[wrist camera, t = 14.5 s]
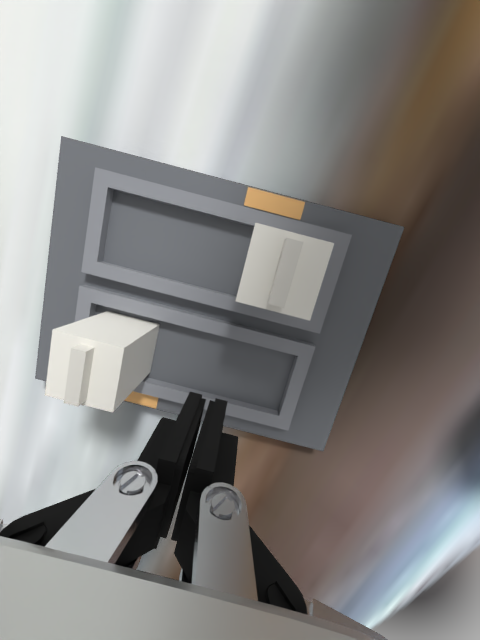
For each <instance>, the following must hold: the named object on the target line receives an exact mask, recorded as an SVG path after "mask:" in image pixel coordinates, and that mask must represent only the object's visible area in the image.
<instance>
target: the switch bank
mask: <svg viewBox="0 0 480 640" xmlns="http://www.w3.org/2000/svg"><path fill="white" fill-rule="evenodd" d="M255 223H259V224H263V225H267V226H271V227H274V228H278V229H282V230H286V231H290V232H293V233H297V234H301V235H305V236H309V237H312V238H316V239H320V240H324V241H328V242H331V243H334V246H333V249H332V253H331V256H330V259H329V262H328V265H327V268H326V272H325V275H324V278H323V281H322V284H321V287H320V291H319V294H318V297H317V300H316V303H315V306H314V310H313V313H312V316H311V319H310V321H309V320H305V319H302V318H298V317H294V316H290V315H286V314H282V313H278V312H275V311H271V310H267V309H263V308H259V307H255V306H251V305H248V304H244V303H240V302H236V297H237V293H238V289H239V285H240V281H241V277H242V273H243V269H244V265H245V261H246V257H247V253H248V249H249V246H250V242H251V238H252V234H253V230H254V226H255ZM403 230H404V227H402V226H399V225H395V224H391V223H387V222H384V221H380V220H376V219H372V218H369V217H365V216H361V215H357V214H353V213H350V212H346V211H342V210H338V209H335V208H331V207H327V206H323V205H319V204H316V203H312V202H308V201H304V200H301V199H297V198H293V197H289V196H285V195H282V194H278V193H274V192H270V191H267V190H263V189H259V188H255V187H252V186H248V185H244V184H240V183H236V182H233V181H229V180H225V179H221V178H218V177H214V176H210V175H206V174H202V173H199V172H195V171H191V170H187V169H184V168H180V167H176V166H172V165H168V164H165V163H161V162H157V161H153V160H150V159H146V158H142V157H138V156H134V155H131V154H127V153H123V152H119V151H116V150H112V149H108V148H104V147H101V146H97V145H93V144H89V143H85V142H82V141H78V140H74V139H70V138H67V137H63V136H61V145H60V154H59V163H58V172H57V182H56V191H55V200H54V209H53V219H52V228H51V237H50V246H49V256H48V265H47V274H46V283H45V293H44V302H43V311H42V320H41V330H40V339H39V348H38V358H37V367H36V376H35V378H36V379H40V380H43V381H47V372H48V363H49V355H50V346H51V338H52V330H53V329H56V328H59V327H62V326H65V325H68V324H71V323H74V322H76V321H79V320H82V319H85V318H88V317H91V316H94V315H97V314H100V313H103V312H106V311H110V312H114V313H118V314H122V315H126V316H130V317H134V318H138V319H142V320H145V321H149V322H153V323H157V324H160V326H159V331H158V336H157V341H156V346H155V351H154V356H153V361H152V366H151V371H150V373H149V374H148V375H147V376H146V377H145V378H144V380H143V381H142V382H141V383H140V384H139V385H138V386H137V387H136V388H135V389H134V390H133V391H132V393H131V394H130V395H129V396H128V397H127V398H126V399H125V400H124V401H126V402H130V403H134V404H138V405H142V406H146V407H150V408H154V409H158V410H162V411H166V412H170V413H174V414H178V415H179V414H180V411H181V409H182V407H183V405H184V403H185V401H186V399H187V397H188V395H189V392H194V393H198V394H202V398H204V399H206V402H205V406H204V410H203V414H202V418H201V421H204V418H205V414H206V411H207V408H208V405H209V402H210V400H211V401H215V399H216V398H217V399H221V400H225V401H228V402H227V407H226V413H225V418H224V423H223V426H225V427H229V428H233V429H237V430H241V431H245V432H249V433H253V434H257V435H261V436H265V437H269V438H272V439H276V440H280V441H284V442H288V443H292V444H296V445H300V446H304V447H308V448H312V449H316V450H320V451H323V450H324V448H325V445H326V442H327V439H328V437H329V434H330V431H331V428H332V426H333V423H334V420H335V417H336V415H337V412H338V409H339V406H340V404H341V401H342V398H343V395H344V393H345V390H346V387H347V384H348V382H349V379H350V376H351V373H352V370H353V368H354V365H355V362H356V359H357V357H358V354H359V351H360V348H361V346H362V343H363V340H364V337H365V335H366V332H367V329H368V326H369V324H370V321H371V318H372V315H373V313H374V310H375V307H376V304H377V301H378V299H379V296H380V293H381V290H382V288H383V285H384V282H385V279H386V277H387V274H388V271H389V268H390V266H391V263H392V260H393V257H394V255H395V252H396V249H397V246H398V244H399V241H400V238H401V235H402V232H403Z"/></svg>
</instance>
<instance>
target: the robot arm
mask: <svg viewBox="0 0 480 640" xmlns="http://www.w3.org/2000/svg"><path fill="white" fill-rule="evenodd" d="M205 402H206V399H204V398H202V394H198V393H194V392H189V395H188V397H187V399H186V401H185V403H184V405H183V407H182V409H181V411H180V414H179V416H178V418H177V420H176V421H175V420H171V419H168V418H164V417H163V418H162V419H161V420H160V422H159V423H158V425H157V427H156V429H155V431H154V432H153V434H152V436H151V438H150V439H149V441H148V443H147V445H146V446H145V448H144V450H143V452H142V453H141V455H140V457H139V459H138V460H137V461H130V462H125V463H123V464H121V465H119V466H117V467H116V468H115V469H114V470H113V471H112V472H111V473H110V474H109V475H108V476H107V477H106V478H105V479H104V481H103V482H102V483H101V484H100V485H99V486H98V487H97V488H96V489H94V490H91V491H89V492H86V493H83V494H81V495H78V496H76V497H73V498H70V499H68V500H65V501H62V502H60V503H57V504H54V505H52V506H49V507H46V508H44V509H41V510H39V511H36V512H33V513H31V514H28V515H25V516H23V517H21V518H19V519H17V520H15V521H13V522H12V523H10V524H3V519H0V640H387V639H386V638H385V637H383V636H382V635H380V634H378V633H377V632H375V631H373V630H371V629H369V628H367V627H365V626H364V625H362V624H360V623H358V622H356V621H354V620H352V619H351V618H349V617H347V616H345V615H343V614H341V613H339V612H338V611H336V610H334V609H332V608H330V607H328V606H326V605H325V604H323V603H321V602H319V601H317V600H315V599H313V600H312V602H309V601H307V600H305V599H304V598H303V595H302V594H301V592H300V590H299V589H298V587H297V586H296V584H295V583H294V582H293V581H292V579H291V578H290V577H289V575H288V574H287V573H286V572H285V570H284V569H283V568H282V566H281V565H280V564H279V563H278V561H277V560H276V559H275V558H274V556H273V555H272V554H271V552H270V551H269V550H268V549H267V547H266V546H265V545H264V544H263V542H262V541H261V540H260V538H259V537H258V536H257V535H256V533H255V532H254V531H253V529H252V528H251V527H250V526H249V522H248V514H247V506H246V502H245V498H244V497H243V495H242V494H241V492H240V491H239V490H238V489H237V488H235V487H234V476H235V465H236V455H237V445H238V437H237V436H233V435H230V434H226V433H222V428H223V423H224V418H225V413H226V407H227V402H228V401H225V400H221V399H217V398H216V399H215V401H211V400H210V402H209V405H208V408H207V411H206V414H205V418H204V421H203V424H202V427H201V430H200V434H199V437H198V440H197V443H196V446H195V442H196V438H197V434H198V430H199V426H200V422H201V418H202V414H203V410H204V406H205ZM194 446H195V450H194ZM193 450H194V453H193ZM192 454H193V456H192ZM191 458H192V459H191ZM190 461H191V463H190ZM189 464H190V466H189ZM188 467H189V470H188ZM187 471H188V474H187ZM186 474H187V478H186V482H185V486H184V490H183V494H182V498H181V502H180V506H179V510H178V514H177V518H176V522H175V526H174V530H173V534H172V538H171V540H175V541H177V544H176V548H175V552H174V554H175V556H176V558H177V560H178V562H179V564H180V566H181V567H182V569H181V573H180V578H179V581H178V580H174V579H170V578H167V577H163V576H159V575H155V574H151V573H147V572H143V571H139V570H136V568H137V567H138V564H139V562H140V559H141V556H142V555H144V554H145V553H147V552H149V551H150V550H152V549H154V548H155V549H156V548H157V545H158V542H159V539H160V537H163V538H166V537H167V534H168V531H169V528H170V525H171V521H172V518H173V515H174V512H175V509H176V506H177V502H178V499H179V496H180V493H181V490H182V486H183V483H184V480H185V477H186Z"/></svg>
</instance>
